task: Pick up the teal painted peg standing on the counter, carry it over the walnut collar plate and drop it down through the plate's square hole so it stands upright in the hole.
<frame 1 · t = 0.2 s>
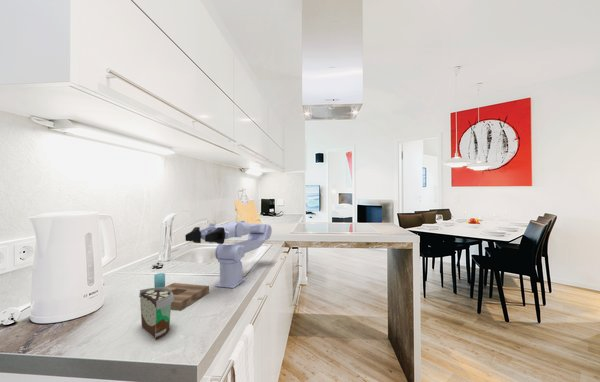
hand: (196, 238, 90), 21 cm above the worktop, tool horizontal, fingers open, 7 cm apart
food container: (160, 330, 74), on the worktop
teal peg: (159, 289, 104), on the worktop
walnut collar plate: (177, 298, 94), on the worktop
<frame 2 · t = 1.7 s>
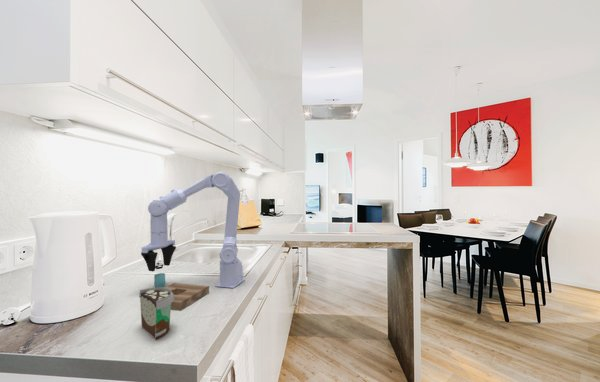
hand: (159, 268, 104), 8 cm above the worktop, tool pointing down, fingers open, 7 cm apart
nothing on the worktop moved.
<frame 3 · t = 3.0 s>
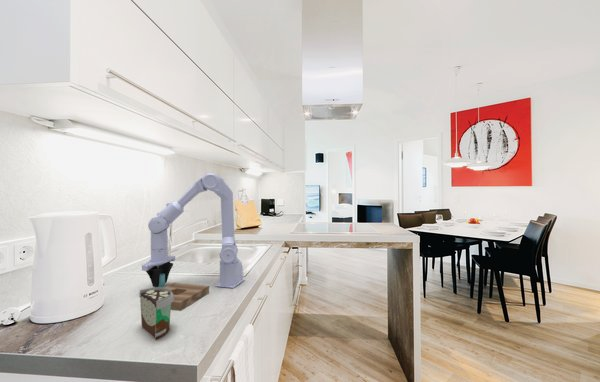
hand: (159, 284, 104), 2 cm above the worktop, tool pointing down, fingers closed on teal peg, 4 cm apart
teal peg: (159, 289, 104), on the worktop, touching gripper
everything else where it was.
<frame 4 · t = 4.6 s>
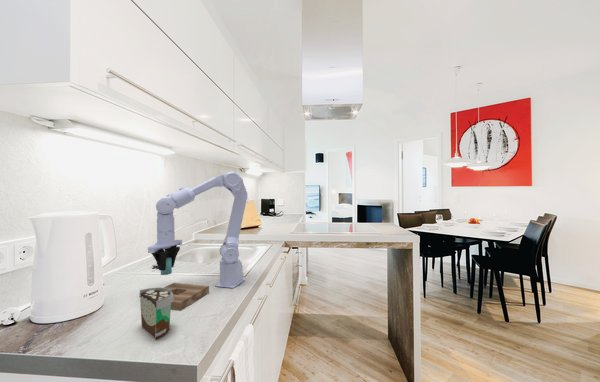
hand: (166, 268, 100), 9 cm above the worktop, tool pointing down, fingers closed on teal peg, 4 cm apart
teal peg: (166, 273, 100), point 7 cm above the worktop, touching gripper
everything else where it was.
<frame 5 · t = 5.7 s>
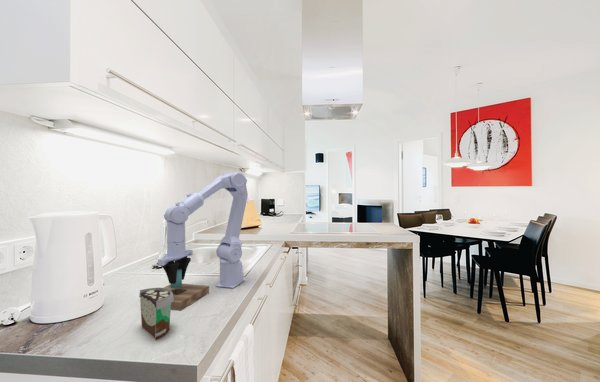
hand: (176, 281, 94), 6 cm above the worktop, tool pointing down, fingers closed on teal peg, 4 cm apart
teal peg: (176, 286, 94), point 4 cm above the worktop, touching gripper
everything else where it was.
when the fingers open (3 cm above the worktop, at t = 6.6 s): teal peg drops 1 cm, resting in walnut collar plate.
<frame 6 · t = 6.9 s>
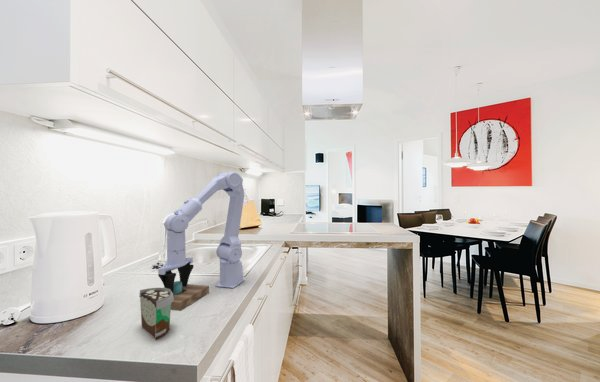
hand: (176, 289, 94), 3 cm above the worktop, tool pointing down, fingers open, 6 cm apart
teal peg: (176, 298, 94), resting in walnut collar plate
everything else where it was.
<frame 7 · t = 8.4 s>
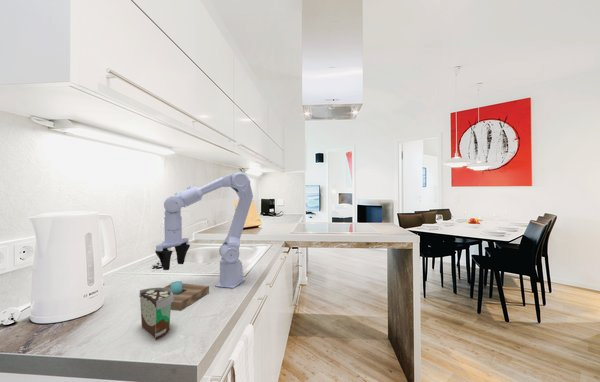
hand: (173, 266, 100), 9 cm above the worktop, tool pointing down, fingers open, 7 cm apart
nothing on the worktop moved.
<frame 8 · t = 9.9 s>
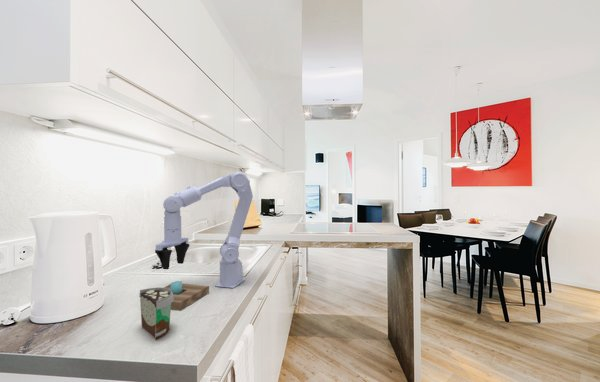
hand: (173, 266, 101), 9 cm above the worktop, tool pointing down, fingers open, 7 cm apart
nothing on the worktop moved.
at the end: teal peg 0.2 cm off-centre on the walnut collar plate, point 0.0 cm above the walnut collar plate's base; teal peg tilted 0°; the gripper is holding nothing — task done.
